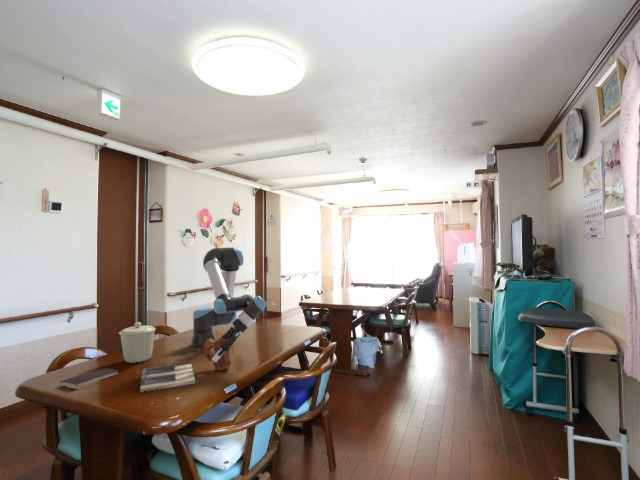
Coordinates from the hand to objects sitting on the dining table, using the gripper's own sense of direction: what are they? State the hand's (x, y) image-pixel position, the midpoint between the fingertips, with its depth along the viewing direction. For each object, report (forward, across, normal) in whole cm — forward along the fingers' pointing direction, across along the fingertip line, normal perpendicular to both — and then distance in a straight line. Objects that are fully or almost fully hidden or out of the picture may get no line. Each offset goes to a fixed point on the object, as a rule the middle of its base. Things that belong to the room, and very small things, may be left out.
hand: (212, 357), depth 173 cm
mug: (+2, 0, -6) cm, 7 cm away
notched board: (+19, -1, +10) cm, 21 cm away
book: (+43, +14, +33) cm, 56 cm away
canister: (+29, +38, +20) cm, 52 cm away
